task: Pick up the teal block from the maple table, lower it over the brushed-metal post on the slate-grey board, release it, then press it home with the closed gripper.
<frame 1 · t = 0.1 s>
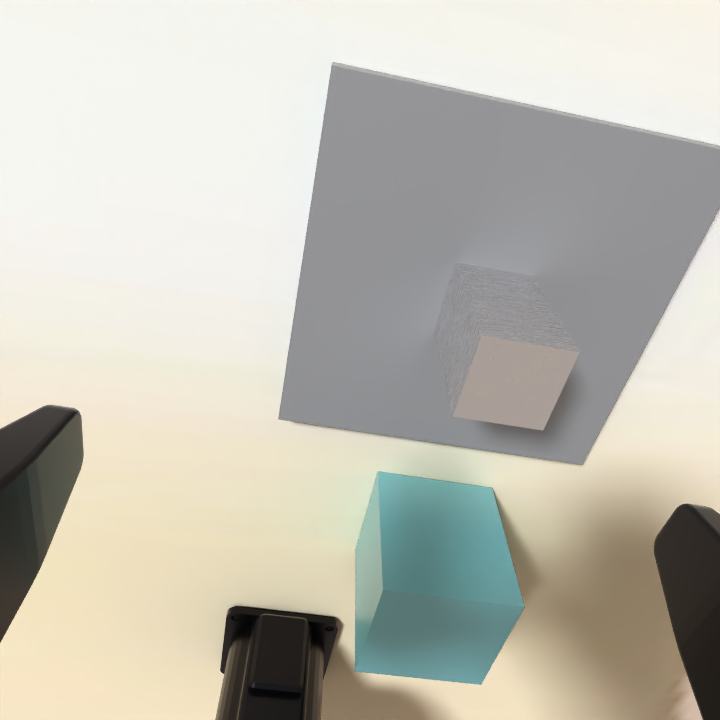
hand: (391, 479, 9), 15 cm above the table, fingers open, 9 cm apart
teal block: (421, 520, 30), on the table
base board: (477, 293, 23), on the table
post: (481, 304, 22), resting on base board
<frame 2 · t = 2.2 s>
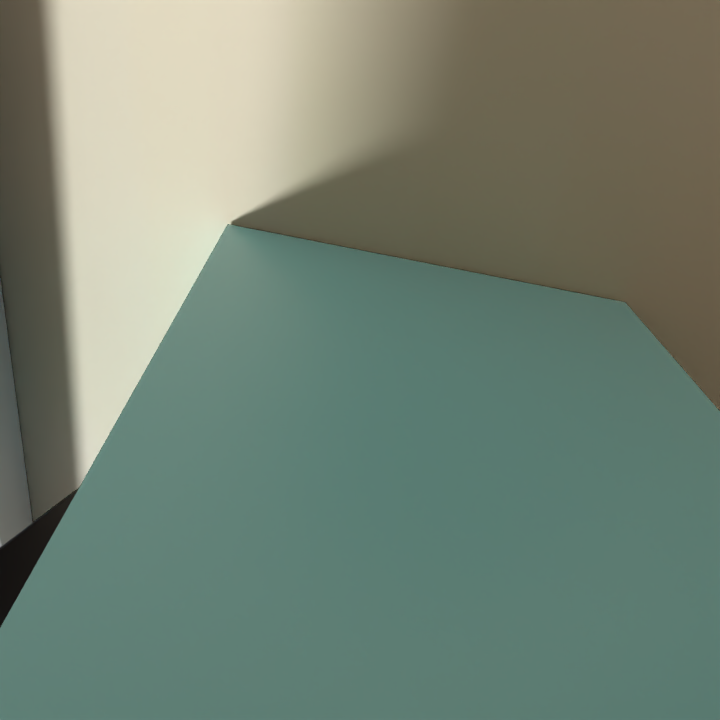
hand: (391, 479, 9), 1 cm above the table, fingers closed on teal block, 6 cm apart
teal block: (387, 423, 10), on the table, touching gripper
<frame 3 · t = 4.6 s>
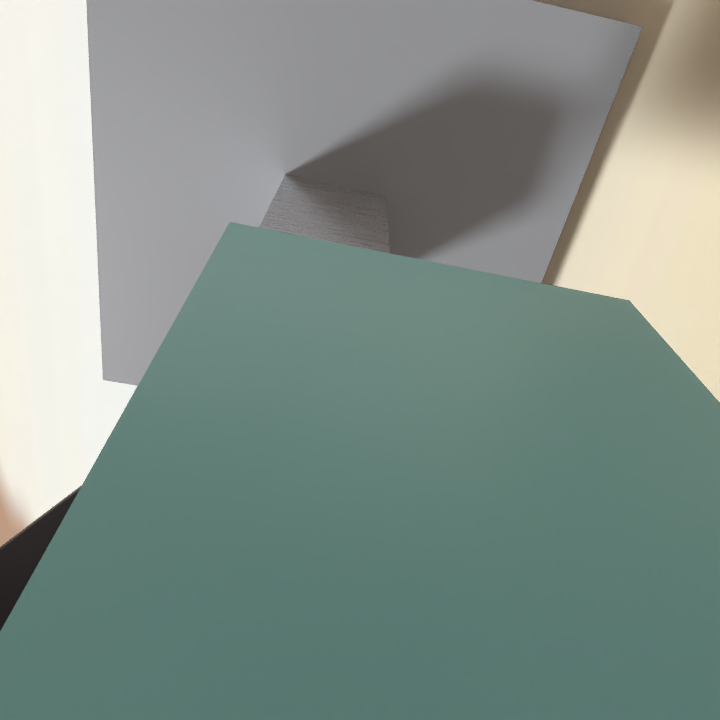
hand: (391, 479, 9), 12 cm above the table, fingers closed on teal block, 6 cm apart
teal block: (389, 422, 10), point 11 cm above the table, touching gripper
base board: (329, 222, 19), on the table
post: (327, 233, 18), resting on base board
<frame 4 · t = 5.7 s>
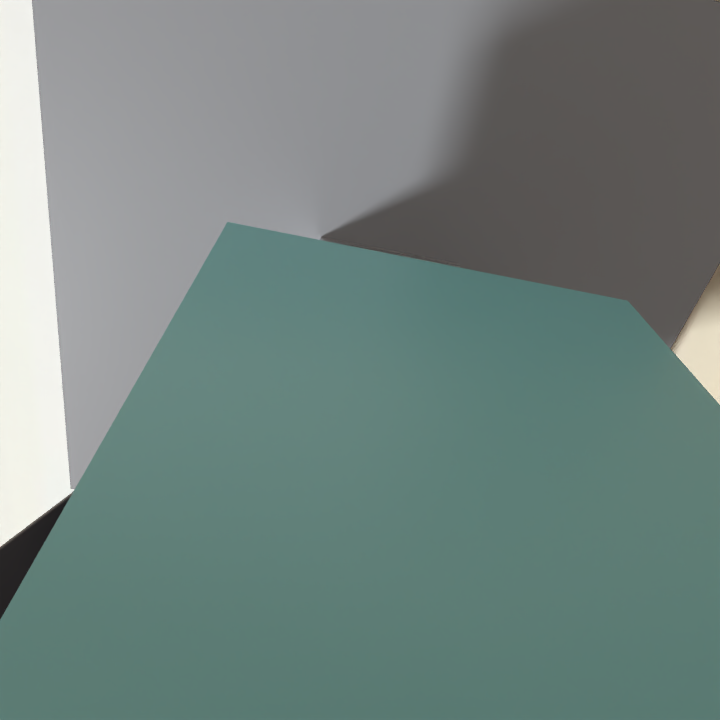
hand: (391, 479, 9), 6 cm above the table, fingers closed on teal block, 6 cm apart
teal block: (388, 422, 10), point 5 cm above the table, touching gripper
base board: (374, 292, 14), on the table
post: (375, 312, 13), resting on base board
when the fingers open (4 cm above the table, at t = 6.6 s): teal block drops 2 cm, resting on base board.
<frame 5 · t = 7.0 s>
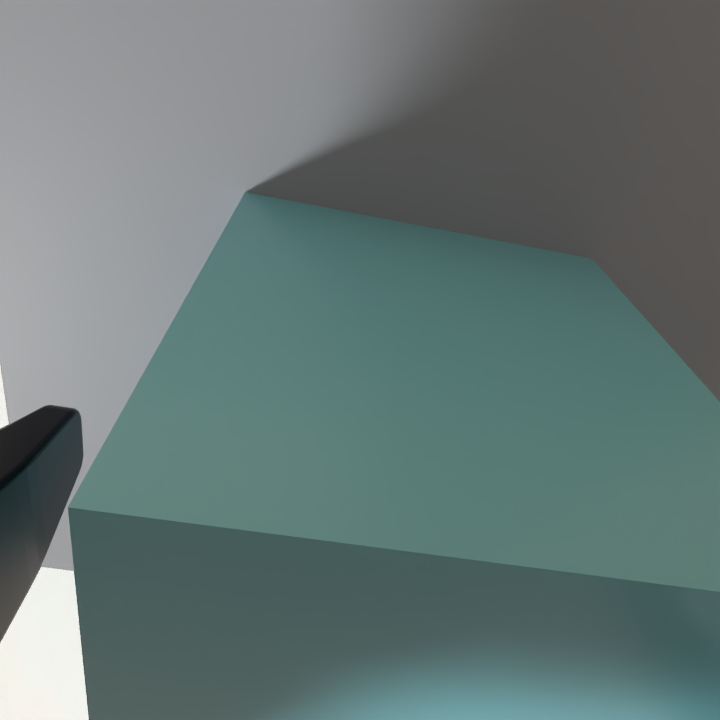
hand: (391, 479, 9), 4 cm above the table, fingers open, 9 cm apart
teal block: (385, 372, 11), point 1 cm above the table, touching base board
base board: (380, 347, 12), on the table
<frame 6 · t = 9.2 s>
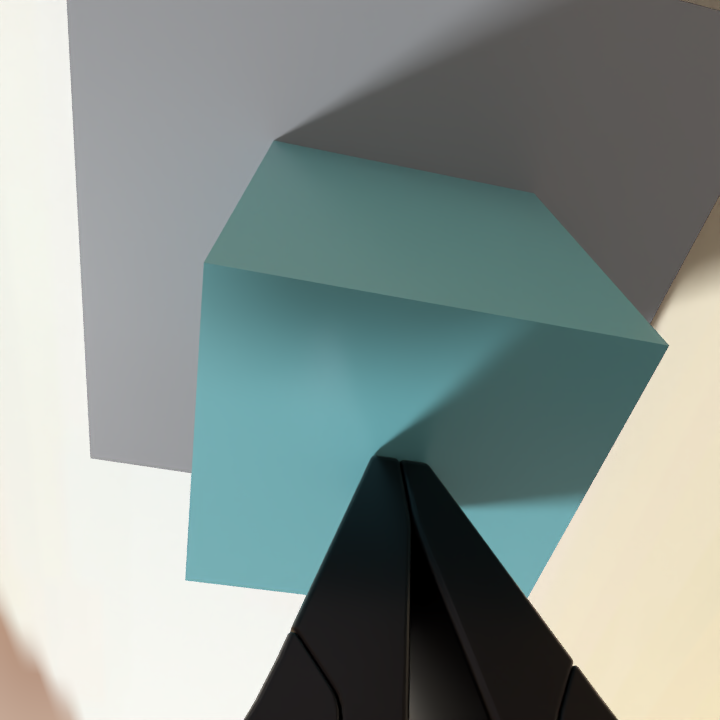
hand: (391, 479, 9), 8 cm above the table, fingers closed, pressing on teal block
teal block: (378, 287, 14), point 1 cm above the table, touching base board, gripper
base board: (374, 272, 15), on the table
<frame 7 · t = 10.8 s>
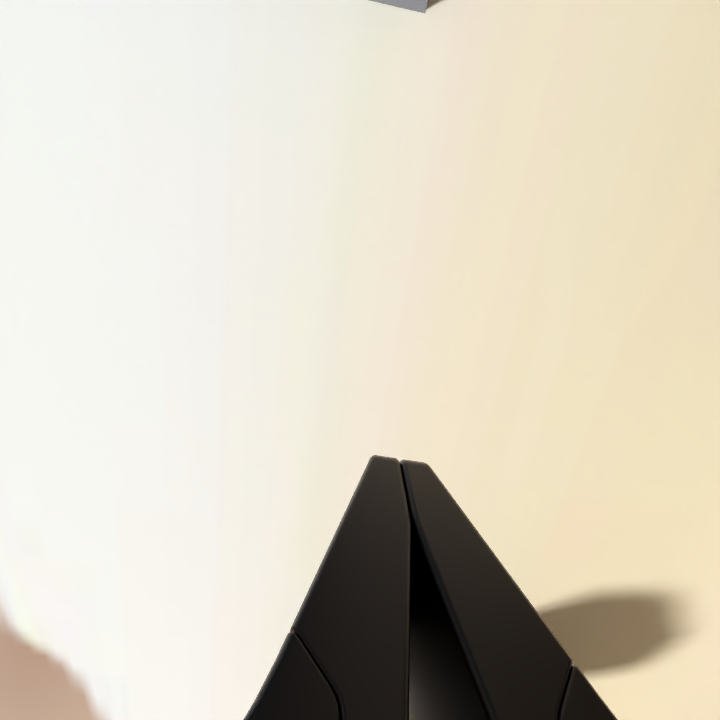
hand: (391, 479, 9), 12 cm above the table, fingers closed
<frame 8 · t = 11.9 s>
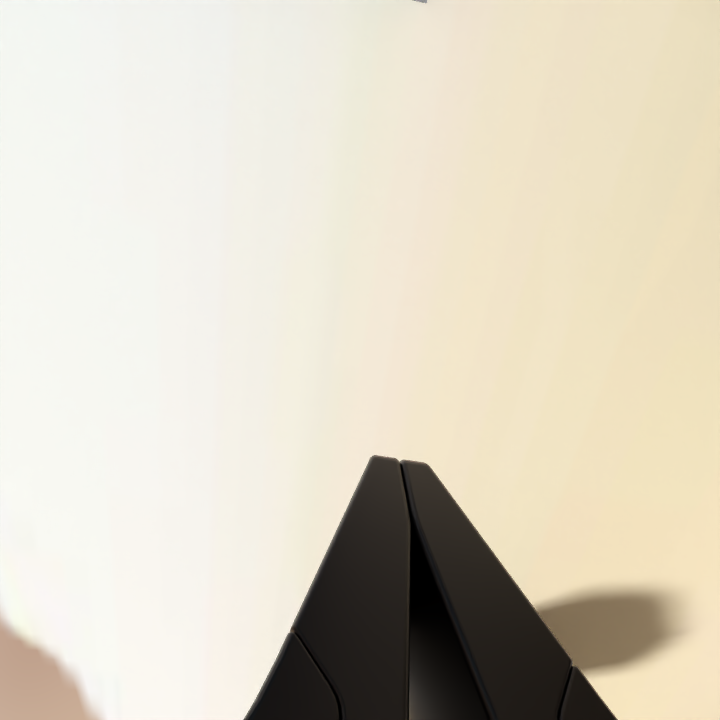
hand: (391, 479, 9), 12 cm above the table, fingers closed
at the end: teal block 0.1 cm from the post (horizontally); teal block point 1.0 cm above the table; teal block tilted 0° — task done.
